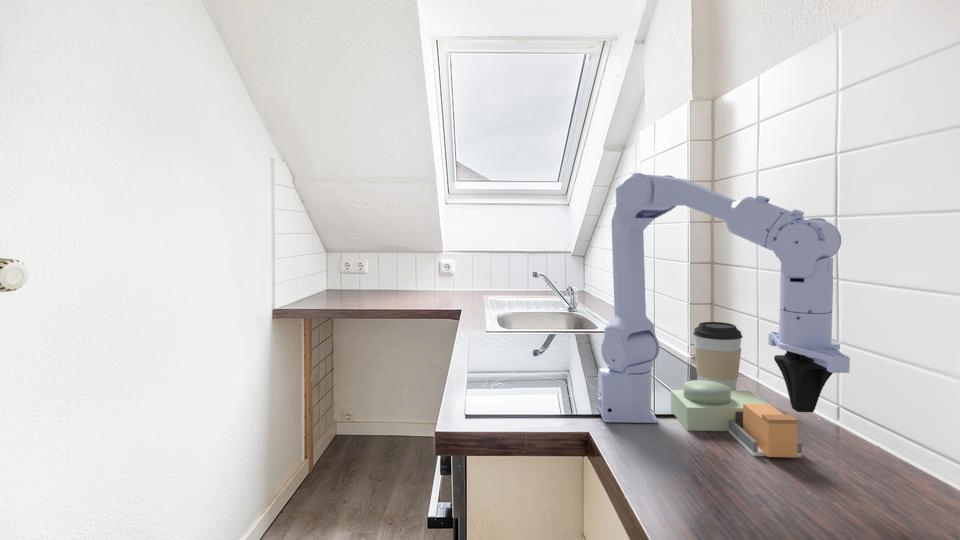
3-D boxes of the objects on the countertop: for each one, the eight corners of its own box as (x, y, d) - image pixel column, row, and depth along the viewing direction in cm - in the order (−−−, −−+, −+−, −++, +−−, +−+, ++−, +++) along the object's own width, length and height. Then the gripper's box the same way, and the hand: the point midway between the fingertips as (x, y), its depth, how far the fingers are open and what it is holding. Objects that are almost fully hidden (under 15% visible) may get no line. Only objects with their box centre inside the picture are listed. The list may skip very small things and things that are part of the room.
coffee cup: (730, 387, 100) (730, 318, 99) (750, 402, 91) (751, 326, 90) (686, 387, 101) (686, 319, 100) (702, 401, 92) (702, 327, 91)
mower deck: (707, 455, 70) (707, 416, 70) (670, 410, 88) (671, 379, 87) (805, 457, 68) (806, 417, 68) (748, 411, 86) (749, 380, 86)
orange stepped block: (768, 456, 68) (768, 419, 67) (742, 433, 76) (743, 400, 75) (797, 457, 67) (798, 420, 67) (768, 434, 75) (769, 400, 75)
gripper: (879, 319, 54) (875, 433, 55) (804, 302, 68) (802, 392, 69) (814, 320, 54) (811, 432, 55) (754, 302, 69) (752, 392, 70)
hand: (802, 410), depth 62 cm, fingers closed
